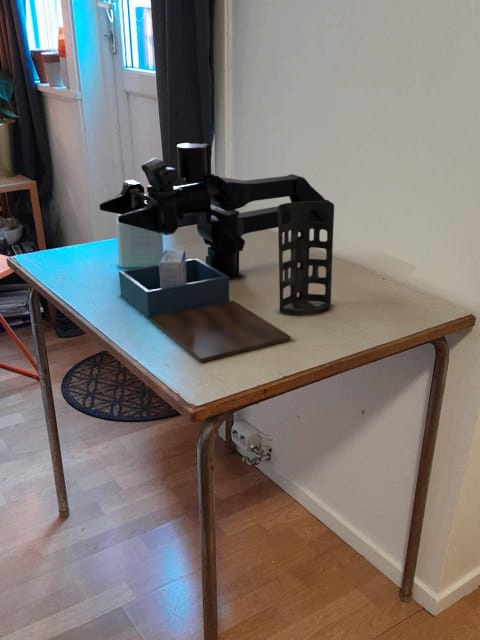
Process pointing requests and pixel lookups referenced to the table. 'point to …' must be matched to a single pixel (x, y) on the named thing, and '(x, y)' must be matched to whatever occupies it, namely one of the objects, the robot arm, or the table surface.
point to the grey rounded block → (138, 246)
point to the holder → (304, 256)
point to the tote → (173, 289)
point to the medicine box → (173, 268)
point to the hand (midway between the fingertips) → (109, 213)
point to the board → (219, 330)
